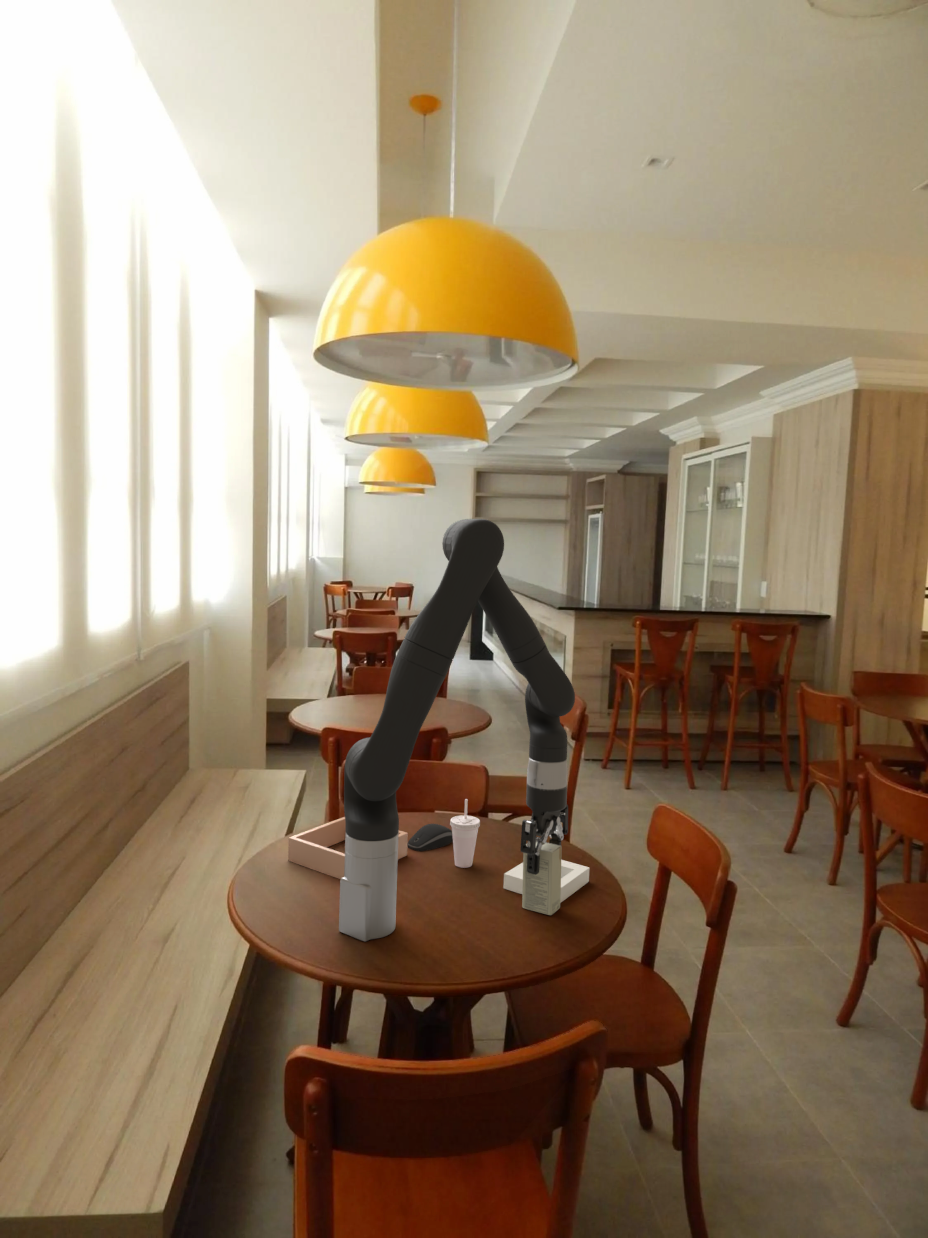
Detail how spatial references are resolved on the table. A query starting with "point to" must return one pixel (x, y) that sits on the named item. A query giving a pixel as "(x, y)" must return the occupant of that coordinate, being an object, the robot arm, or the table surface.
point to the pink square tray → (318, 857)
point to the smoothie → (464, 838)
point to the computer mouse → (430, 838)
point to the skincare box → (543, 881)
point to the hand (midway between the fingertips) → (544, 866)
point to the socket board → (570, 878)
